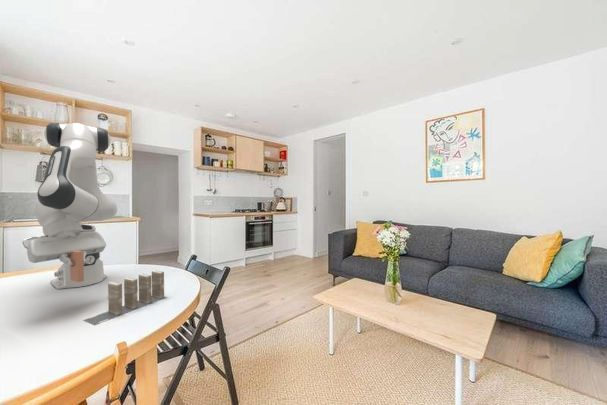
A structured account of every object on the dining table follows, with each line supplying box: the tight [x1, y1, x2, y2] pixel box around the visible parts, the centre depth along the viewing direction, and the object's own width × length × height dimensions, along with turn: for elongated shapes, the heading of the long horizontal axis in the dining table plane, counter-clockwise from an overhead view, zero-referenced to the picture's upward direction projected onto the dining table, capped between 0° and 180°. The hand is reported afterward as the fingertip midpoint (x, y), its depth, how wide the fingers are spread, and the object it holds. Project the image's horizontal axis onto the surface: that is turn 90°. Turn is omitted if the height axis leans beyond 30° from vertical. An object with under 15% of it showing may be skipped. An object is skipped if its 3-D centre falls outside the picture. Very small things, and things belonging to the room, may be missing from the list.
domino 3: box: [138, 273, 152, 304], centre depth 94 cm, size 2×5×10 cm, turn 64°
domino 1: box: [107, 281, 123, 315], centre depth 85 cm, size 2×5×10 cm, turn 64°
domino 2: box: [123, 276, 139, 309], centre depth 90 cm, size 2×5×10 cm, turn 64°
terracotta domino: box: [70, 250, 84, 282], centre depth 86 cm, size 2×5×10 cm, turn 64°
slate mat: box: [82, 296, 169, 326], centre depth 89 cm, size 7×24×1 cm, turn 154°
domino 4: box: [151, 270, 165, 300], centre depth 99 cm, size 2×5×10 cm, turn 64°
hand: (77, 264), depth 86 cm, fingers closed on terracotta domino, 2 cm apart
